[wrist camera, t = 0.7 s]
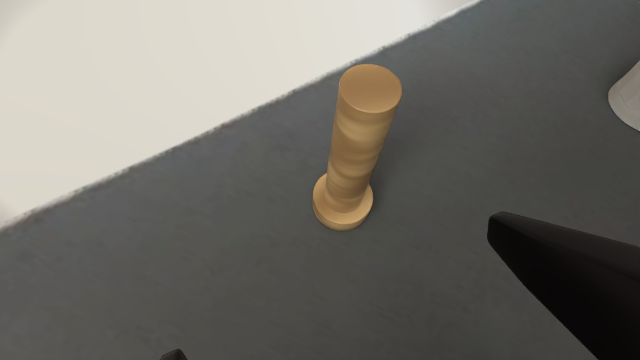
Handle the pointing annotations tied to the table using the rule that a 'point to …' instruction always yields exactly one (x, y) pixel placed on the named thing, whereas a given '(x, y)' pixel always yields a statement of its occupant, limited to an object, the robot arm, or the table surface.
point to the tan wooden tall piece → (356, 145)
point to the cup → (627, 97)
